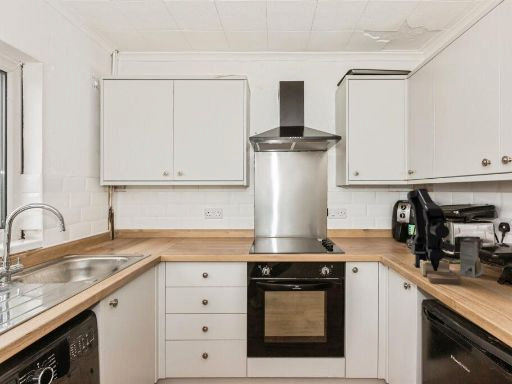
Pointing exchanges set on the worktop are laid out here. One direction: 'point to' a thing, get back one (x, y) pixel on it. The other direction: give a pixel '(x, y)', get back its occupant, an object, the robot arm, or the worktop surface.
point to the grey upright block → (470, 257)
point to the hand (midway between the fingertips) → (433, 269)
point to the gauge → (428, 267)
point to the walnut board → (442, 277)
